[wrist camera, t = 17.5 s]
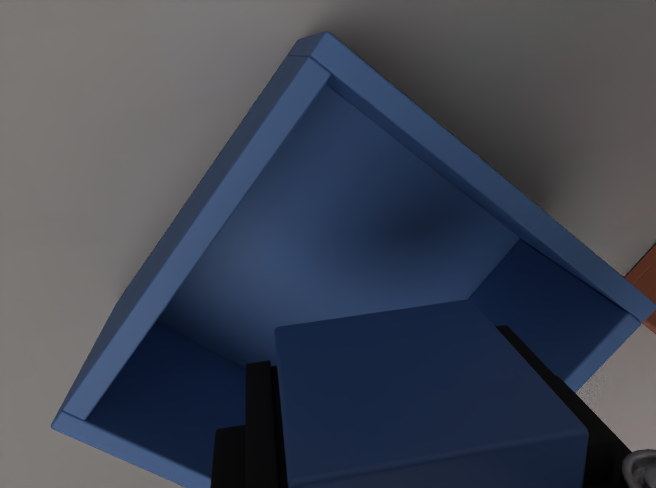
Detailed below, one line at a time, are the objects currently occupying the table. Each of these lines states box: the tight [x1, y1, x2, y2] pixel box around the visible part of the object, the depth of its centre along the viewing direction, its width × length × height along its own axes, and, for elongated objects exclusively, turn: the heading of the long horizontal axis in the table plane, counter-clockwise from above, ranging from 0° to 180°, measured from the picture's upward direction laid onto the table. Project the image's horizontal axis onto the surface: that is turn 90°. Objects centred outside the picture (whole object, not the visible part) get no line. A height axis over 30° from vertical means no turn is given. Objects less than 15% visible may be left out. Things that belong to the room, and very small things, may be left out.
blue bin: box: [51, 31, 656, 488], centre depth 16 cm, size 11×11×7 cm
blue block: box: [274, 300, 589, 488], centre depth 10 cm, size 4×4×4 cm
